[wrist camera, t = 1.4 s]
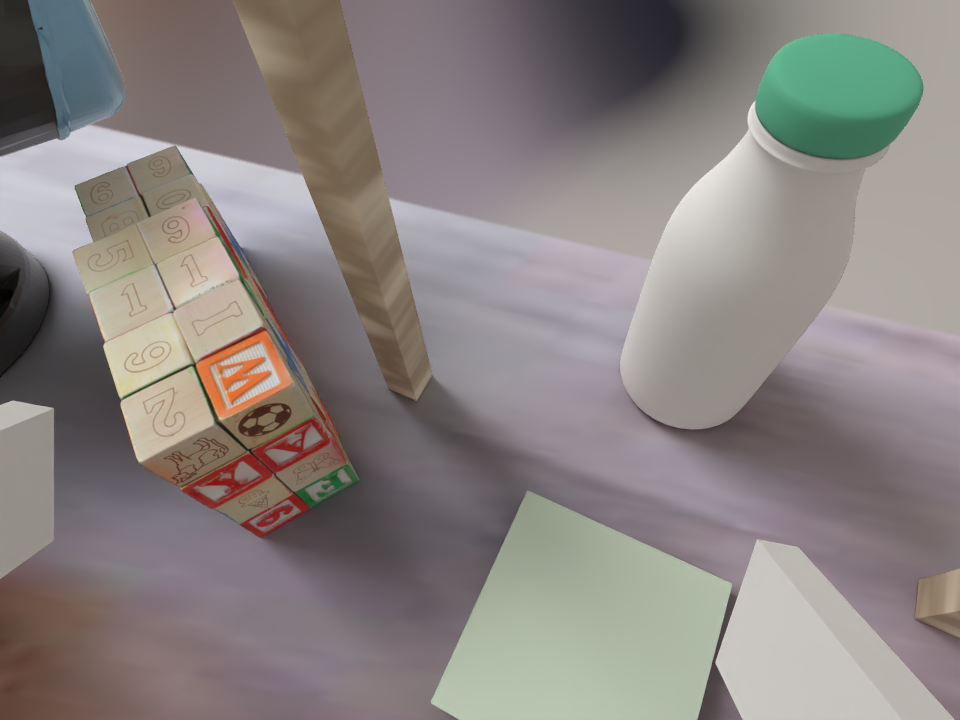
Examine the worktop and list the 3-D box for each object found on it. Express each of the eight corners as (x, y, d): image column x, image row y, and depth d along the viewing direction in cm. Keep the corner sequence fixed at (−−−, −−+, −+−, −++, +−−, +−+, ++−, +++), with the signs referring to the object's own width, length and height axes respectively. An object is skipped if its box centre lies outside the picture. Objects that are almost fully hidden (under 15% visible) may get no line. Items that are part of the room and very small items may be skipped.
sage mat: (432, 702, 27) (430, 702, 26) (526, 495, 32) (527, 490, 31) (660, 836, 24) (666, 842, 23) (725, 586, 29) (732, 583, 28)
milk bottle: (732, 453, 32) (987, 182, 15) (601, 406, 34) (695, 117, 17) (757, 346, 36) (988, 25, 18) (637, 309, 38) (745, -15, 20)
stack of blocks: (158, 282, 41) (34, 139, 30) (241, 245, 42) (150, 96, 32) (261, 541, 31) (132, 464, 21) (364, 482, 33) (293, 382, 22)
